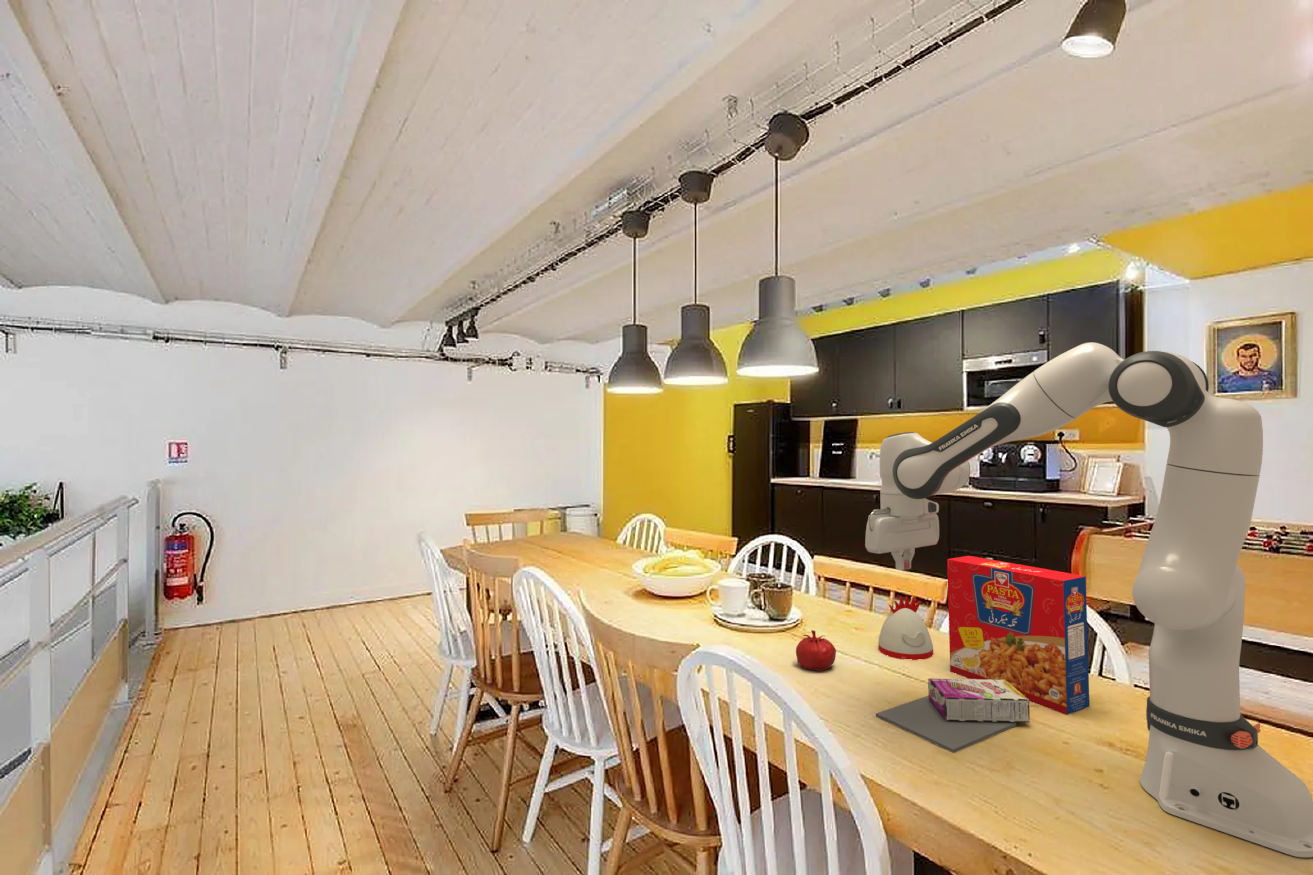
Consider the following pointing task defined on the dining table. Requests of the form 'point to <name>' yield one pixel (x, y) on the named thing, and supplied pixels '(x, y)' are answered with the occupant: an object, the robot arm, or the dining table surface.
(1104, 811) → the dining table surface
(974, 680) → the candy bar box
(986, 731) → the rubber mat
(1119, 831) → the dining table surface
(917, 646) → the kitchen timer
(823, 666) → the pomegranate
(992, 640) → the pasta box
